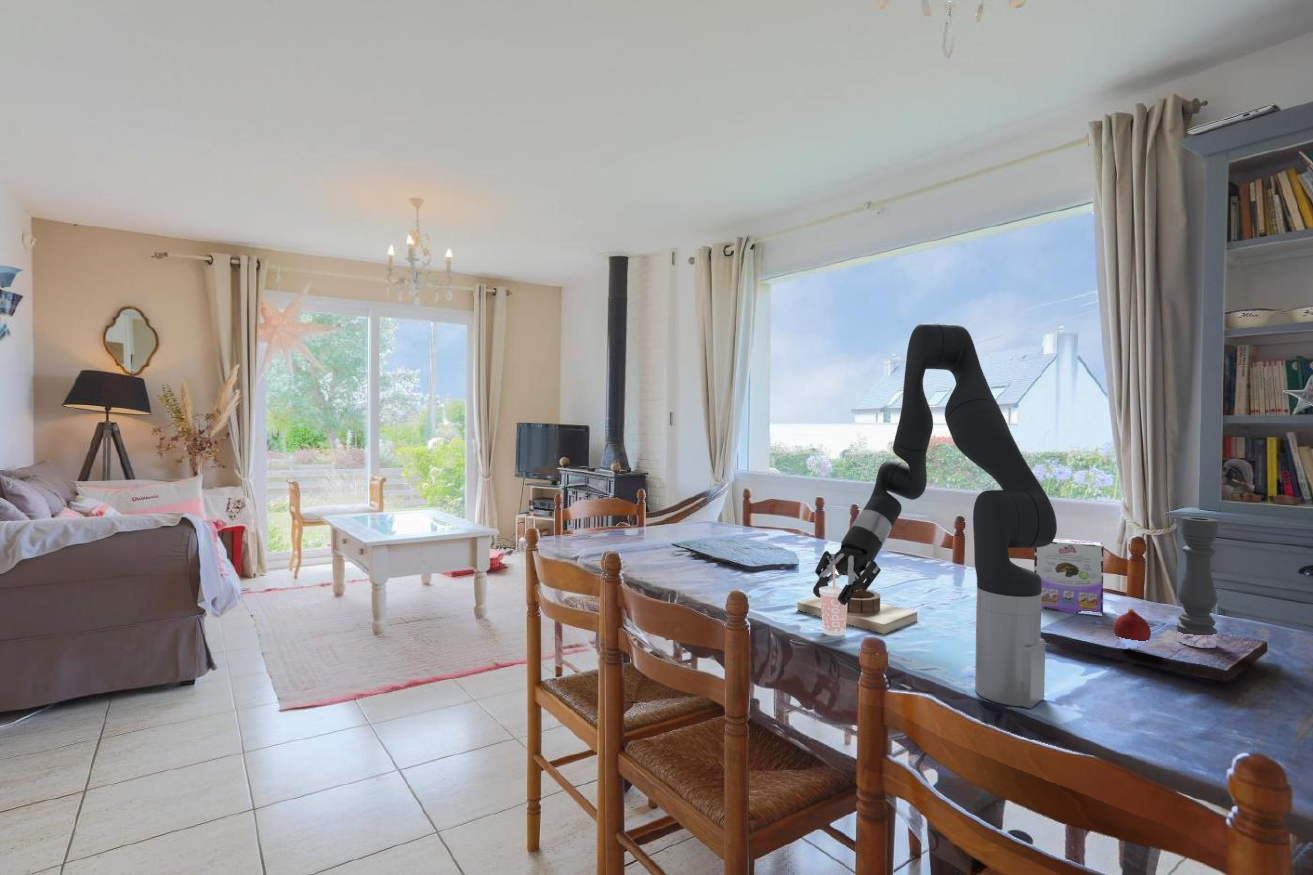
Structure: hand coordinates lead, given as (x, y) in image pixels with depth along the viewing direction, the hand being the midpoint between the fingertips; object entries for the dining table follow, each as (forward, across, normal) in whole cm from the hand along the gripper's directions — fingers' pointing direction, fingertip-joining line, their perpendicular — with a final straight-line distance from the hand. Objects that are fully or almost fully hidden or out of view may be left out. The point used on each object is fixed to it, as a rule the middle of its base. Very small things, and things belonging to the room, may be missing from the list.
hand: (828, 598), depth 136 cm
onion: (-25, +38, +36) cm, 58 cm away
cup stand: (-6, -6, +17) cm, 19 cm away
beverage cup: (+4, 0, +6) cm, 8 cm away
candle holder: (-35, +43, +47) cm, 73 cm away
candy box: (-38, +18, +49) cm, 65 cm away
